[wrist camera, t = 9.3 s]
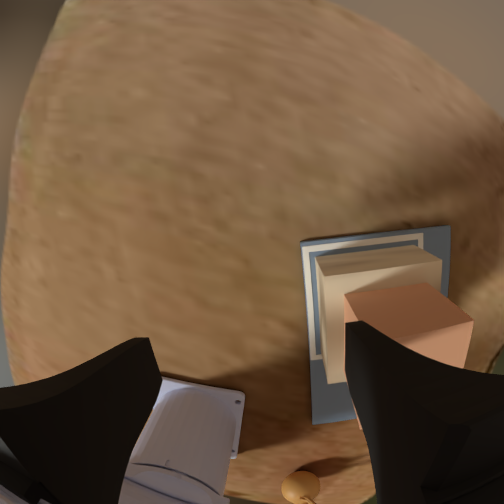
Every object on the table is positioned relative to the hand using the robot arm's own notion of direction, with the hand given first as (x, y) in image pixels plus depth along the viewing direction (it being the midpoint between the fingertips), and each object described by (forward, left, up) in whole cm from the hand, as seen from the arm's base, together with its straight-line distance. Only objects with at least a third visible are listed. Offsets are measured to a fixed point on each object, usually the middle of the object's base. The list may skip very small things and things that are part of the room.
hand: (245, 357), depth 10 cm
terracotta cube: (-1, -8, -6) cm, 9 cm away
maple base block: (-1, -8, -10) cm, 12 cm away
